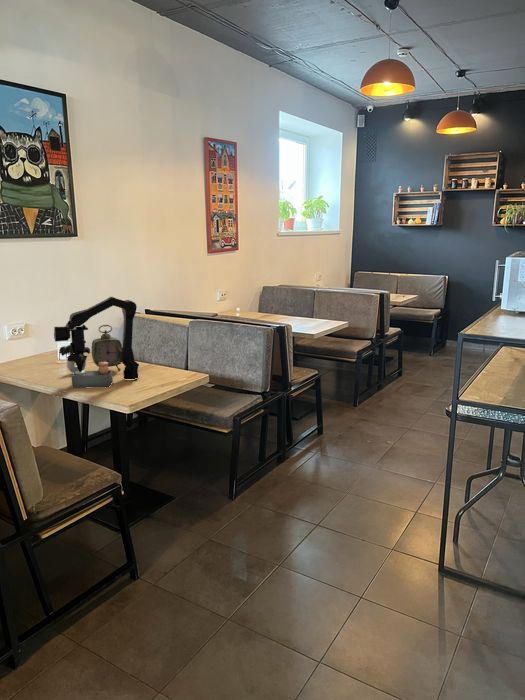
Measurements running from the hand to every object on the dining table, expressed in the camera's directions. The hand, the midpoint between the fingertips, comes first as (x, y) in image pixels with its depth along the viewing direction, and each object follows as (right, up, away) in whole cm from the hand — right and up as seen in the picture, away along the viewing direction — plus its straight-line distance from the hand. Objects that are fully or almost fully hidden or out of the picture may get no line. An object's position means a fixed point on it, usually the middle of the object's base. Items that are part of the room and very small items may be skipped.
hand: (80, 371), depth 245 cm
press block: (+5, -7, +2) cm, 9 cm away
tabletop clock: (+5, -1, +28) cm, 28 cm away
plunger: (0, -5, +1) cm, 6 cm away
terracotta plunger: (+11, -1, +1) cm, 11 cm away
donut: (-10, -2, +24) cm, 26 cm away
